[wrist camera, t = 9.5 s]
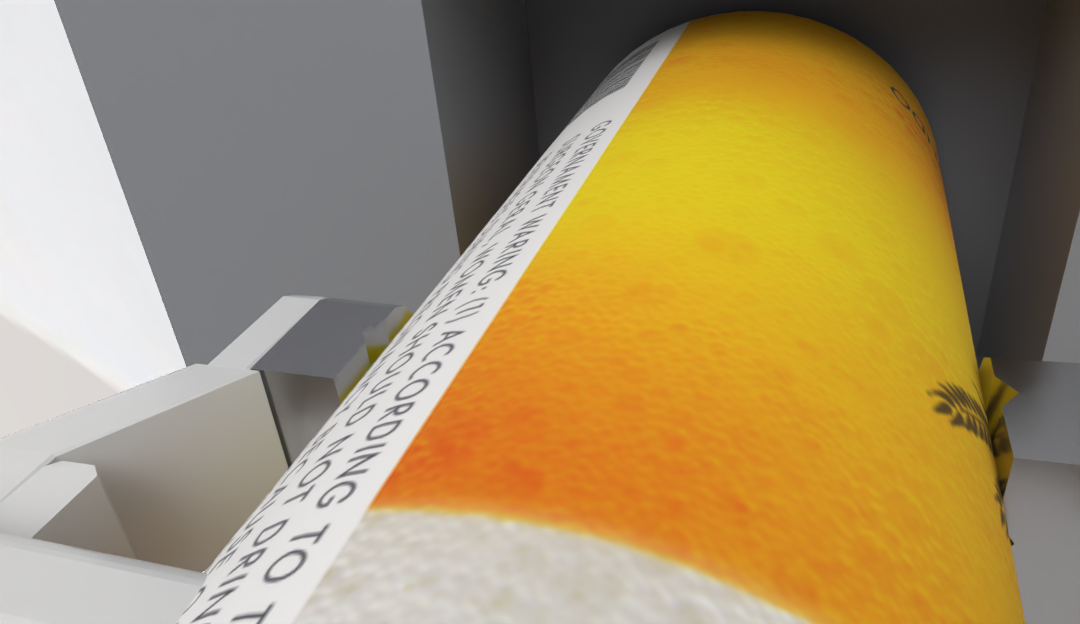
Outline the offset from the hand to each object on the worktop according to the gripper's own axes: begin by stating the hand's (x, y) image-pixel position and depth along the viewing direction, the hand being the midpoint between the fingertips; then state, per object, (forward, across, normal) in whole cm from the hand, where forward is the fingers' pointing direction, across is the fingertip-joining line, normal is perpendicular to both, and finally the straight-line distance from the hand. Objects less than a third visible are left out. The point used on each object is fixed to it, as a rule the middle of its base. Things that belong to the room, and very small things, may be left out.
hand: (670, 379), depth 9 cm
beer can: (+7, 0, 0) cm, 7 cm away
